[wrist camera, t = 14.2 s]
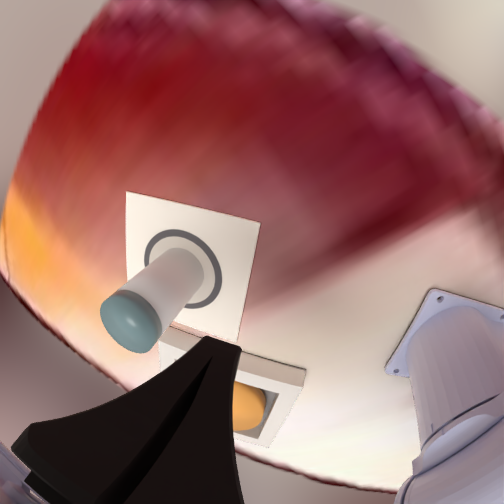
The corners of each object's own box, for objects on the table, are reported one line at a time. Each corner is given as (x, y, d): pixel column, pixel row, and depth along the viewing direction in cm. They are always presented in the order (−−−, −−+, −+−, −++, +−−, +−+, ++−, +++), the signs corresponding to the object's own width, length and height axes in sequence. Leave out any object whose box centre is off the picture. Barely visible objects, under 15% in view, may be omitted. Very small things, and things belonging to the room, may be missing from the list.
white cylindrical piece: (206, 255, 19) (152, 314, 13) (201, 298, 20) (154, 362, 14) (160, 241, 19) (96, 289, 13) (159, 283, 21) (104, 337, 15)
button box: (305, 369, 21) (302, 387, 19) (272, 433, 26) (268, 448, 25) (169, 326, 23) (158, 340, 21) (171, 400, 28) (164, 412, 26)
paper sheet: (260, 222, 17) (259, 224, 17) (236, 340, 22) (235, 343, 21) (128, 191, 19) (125, 192, 19) (130, 302, 23) (128, 303, 23)
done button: (275, 383, 22) (271, 397, 20) (257, 426, 25) (253, 438, 24) (186, 354, 23) (178, 367, 22) (185, 402, 26) (179, 412, 25)
